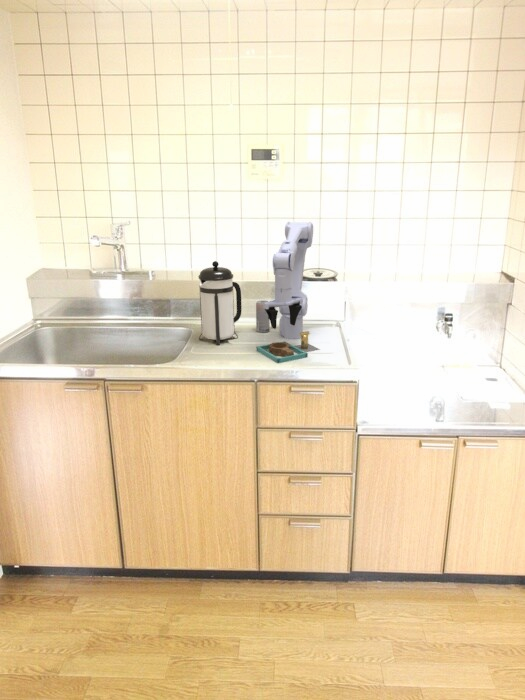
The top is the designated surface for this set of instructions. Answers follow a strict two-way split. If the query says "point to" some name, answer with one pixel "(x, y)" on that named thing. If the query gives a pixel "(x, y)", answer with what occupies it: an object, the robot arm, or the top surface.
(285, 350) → the ring
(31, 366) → the top surface
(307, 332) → the gold t-shaped peg
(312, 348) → the base
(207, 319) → the coffee press
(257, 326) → the energy drink
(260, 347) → the tray
